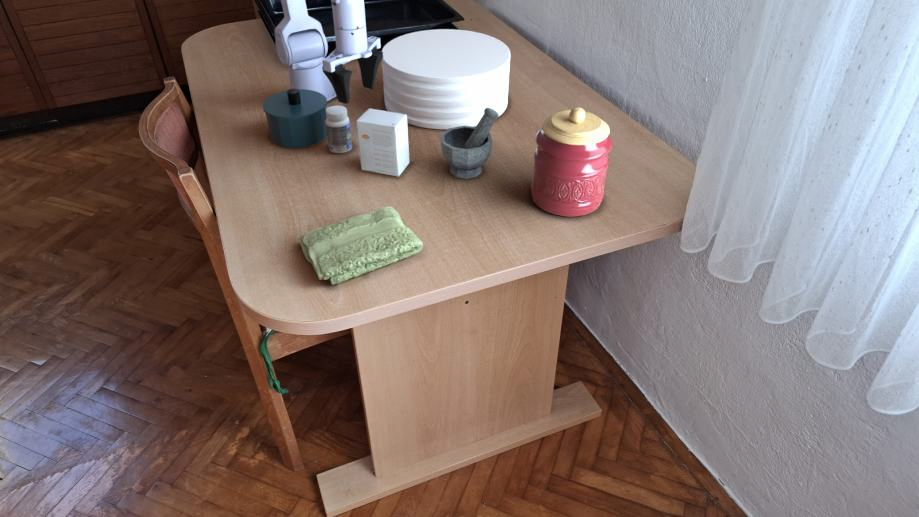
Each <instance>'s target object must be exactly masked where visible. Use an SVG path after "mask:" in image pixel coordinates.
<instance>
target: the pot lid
mask: <svg viewBox="0 0 919 517" xmlns="http://www.w3.org/2000/svg"><path fill="white" fill-rule="evenodd" d="M327 106H328V101H327V99H326V97H325V96H324V95H323V94H321V93H319V92H316V91H312V90H304V89H291V88H289V89H288V90H283V91H279V92H275V93H273V94H271V95H269V96H268V97H267V98H266V99H264V100H263V102H262V104H261V107H262V111H263V112H264V114H265V115H266V114H267V115H269V116H271V117H274V118H279V119H301V118H306V117H310V116H313V115H315V114H318V113H319V112H321V111H322V110H324V109H325V107H326V108H327Z"/></svg>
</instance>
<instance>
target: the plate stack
mask: <svg viewBox="0 0 919 517" xmlns="http://www.w3.org/2000/svg"><path fill="white" fill-rule="evenodd" d="M381 52H383V58H382V60H381V62H382V64H381V68H382V70H381V71H382V82H383V98H384V100H383V101H384V107H385V109H386V111H388V112H395V113H401V114H406V115H407V125H412V126H416V127H420V128H425V129H431V130H448V129H449V128H454V127H459V126H471V127H476V126H477V124H478V123H479V121H480V120H481V118H482V116H483V115H484V110H485V109H486V108H491V109H493V110H495V111H496V112H497V113H498V114H499V116H498V118H499V117H500V116H501V115H503V114H504V112H505V111H506V109H507V108H508V105H509V104H508V103H509V90H510V89H509V84H510V71H511V70H510V69H511V63H510V62H511V56H512V55H511V49H510V48H509V46H507V45H506V43H505V42H503V41H501V40H500V39H499V38H496V37H494V36H491V35H489V34H485V33H482V32H478V31H473V30H465V29H456V28H455V29H454V28H451V29H450V28H437V29H425V30H418V31H414V32H410V33H409V32H408V33H405V34H403V35H399V36H397V37H395V38H392V39H391V40H390V41H388V42H387V43H386V44H384V45H383V48H382V50H381Z"/></svg>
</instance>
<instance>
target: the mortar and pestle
mask: <svg viewBox="0 0 919 517" xmlns="http://www.w3.org/2000/svg"><path fill="white" fill-rule="evenodd" d="M498 116H499V114H498V113H497V112H496V111H495V110H493V109H491V108H486V109H485V110H484V115H483V116H482V118H481V120H480V121H479V123H478V124H477V126H474V127H471V126H459V127H454V128H449V129H445V131H444V132H442V133H441V134H440V147H441V149H440V150H441V154H442V157H443V159H444V160H445V162H446V163H447V164H449V173H450V174H451V175H453V176H454V177H456V178H460V179H471V178H472V179H473V178H477V177H478V176H479V175H480V174H481V173H482V165H483V164H484V163H486V162H487V160H488V159H489V157H490V156H491V153H492V149H493V139H492V138H493V137H492V134H491V132H490V131H491V129H492V127H493V125H494V123H495V121H496V120H497V119H499V117H500V116H499V117H498Z"/></svg>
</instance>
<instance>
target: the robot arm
mask: <svg viewBox="0 0 919 517" xmlns="http://www.w3.org/2000/svg"><path fill="white" fill-rule="evenodd" d="M330 2H331V10H332V18H333V19H332V20H333V30H334V38H335V49H334V50H332V51H331V52H330V53H329V55H328V56H327V54H328V49H329V45H328V40H327V37H326V35H325V33H324V29H323V26H322V23H321V22H320V21H319V20H318V19H316V18H314V17H312V16H310V15H309V12H308V8H307V3H306V0H280V3H281V7H282V12H283V16H284V17H283V19H282V20H281V21H280V22H279V23H278V25H277V26H276V27H275V28H274V38H275V50H276V54H277V57H278V59H279V60H280V62H281V63H282V64H283V65H284V66H286V67H287V70H288V78H289V84H290V89H304V90H312V91H316V92H319V93H321V94H323V95H324V96H325V97H326V99H327V102H329V101H331V100H333V99H335V98H337V101H338V102H339V103H342V104H345V105H348V104H349V103H350V98H351V97H350V85H351V84H350V83H351V78H352V75H353V74H352V73H353V70H349V69H346V67H345V66H344V65H346V64H347V63H349V62H352V61H354V60H357V63H358V67H359V71H360V77H361V83H362V86H363V88H365V89H368V90H371V91H372V90H374V88H375V84H376V77H377V74H378V73H377V72H378V70H379V67H380V64H381V62H382V58H383V52H382V50H380V49H381V46H382V45H381V37H377V36H374V35H371V36H369V37H368V34H367V23H366V22H367V21H366V8H365V0H330ZM378 49H379V50H378Z"/></svg>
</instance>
